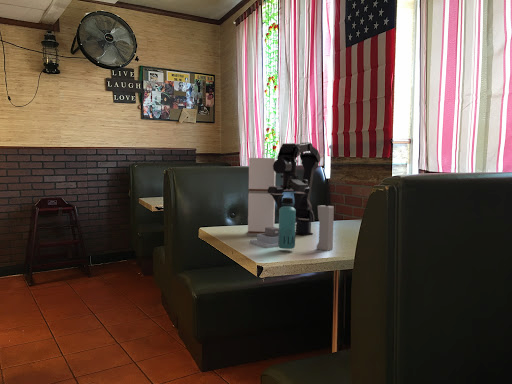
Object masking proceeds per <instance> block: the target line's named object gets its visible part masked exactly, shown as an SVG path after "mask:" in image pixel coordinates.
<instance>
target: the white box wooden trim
mask: <svg viewBox="0 0 512 384" xmlns="http://www.w3.org/2000/svg"><path fill="white" fill-rule="evenodd" d="M276 160H277V157H276V158H275V157H248V196H247V197H248V198H247V201H248V203H247V204H248V206H247V209H248V210H247V237H248V236H249V237H257V234H262V233H265V228H267V227H275V214H276V213H275V212H276V211H275V209H276V208H275V206H276V202H275V200H274V198H273V196H272V195H270V194H272V193H268V188H269V186H276V175H277V173H276V172H275V171H274V169H273V164H274V162H275V161H276Z"/></svg>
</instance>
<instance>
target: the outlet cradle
mask: <svg viewBox="0 0 512 384" xmlns="http://www.w3.org/2000/svg"><path fill="white" fill-rule="evenodd" d="M278 240H279V236H277V237H269V236H265V233H262V234H257V236H256V239H249V243H250V244H252V245H256V246H258V247H259V246H260V247H262V246H263V248H266V249H268V248H269V249H271V248H277V247H278V248H279V246H278Z"/></svg>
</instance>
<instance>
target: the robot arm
mask: <svg viewBox="0 0 512 384" xmlns="http://www.w3.org/2000/svg"><path fill="white" fill-rule="evenodd" d="M298 157H299V158H300V160H301V165H302V167H303V172H302V173H303V175H302V180H300V179H299V178H300V177H299V175H297V164H298V159H297V158H298ZM320 162H321V155H320V152H319V150H318V149H317V148H316V147H315V146H314V145H313V144H312V142H300V143H295V142H294V143H291V142H289V143H287V142H286V143H285V142H284V143H282V144H281V146H280V148H279V151H278V153H277V156H276V161H275V162H274V164H273V169H274V171H275V172H276V174H281V175H280V179H282V184H280V186H278V185H275V186H269V188H268V193H272V194H270V195H272V196H273V198H274V200H275V205H276V207H277V209H278V210H279V209H280V208H281V207H283V203H282V198H284V195H285V194H284V193H292V192H293V204H294V205H293V207H294V208H295V210H296V214H295V216H296V220H295V221H296V223H295V224H296V226H295V227H296V228H295V230H296V233H295V235H300V236H308V235H309V236H311V235H314V232H312V223H314V222H315V213H314V211H313V205H312V203H311V201H310V199H311V192H312V185H313V180H314V173H315V171H316V170H317V169H318V168H319V164H320Z"/></svg>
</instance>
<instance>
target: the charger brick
mask: <svg viewBox="0 0 512 384" xmlns="http://www.w3.org/2000/svg"><path fill="white" fill-rule="evenodd" d="M278 233H279V227H275V226H274V227H267V228H265V236H269V237H277V236H279V234H278Z"/></svg>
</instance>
